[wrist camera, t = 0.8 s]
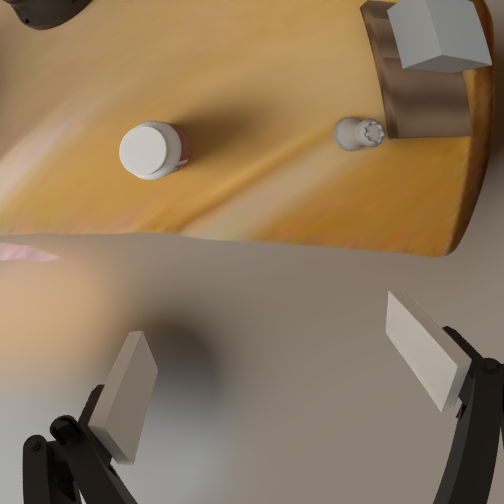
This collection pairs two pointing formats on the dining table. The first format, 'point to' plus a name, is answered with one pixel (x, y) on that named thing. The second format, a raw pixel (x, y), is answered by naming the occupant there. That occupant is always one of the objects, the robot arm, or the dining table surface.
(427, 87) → the socket board
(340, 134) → the rook chess piece
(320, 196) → the dining table surface
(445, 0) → the block
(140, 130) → the pill bottle
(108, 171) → the dining table surface
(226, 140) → the dining table surface
